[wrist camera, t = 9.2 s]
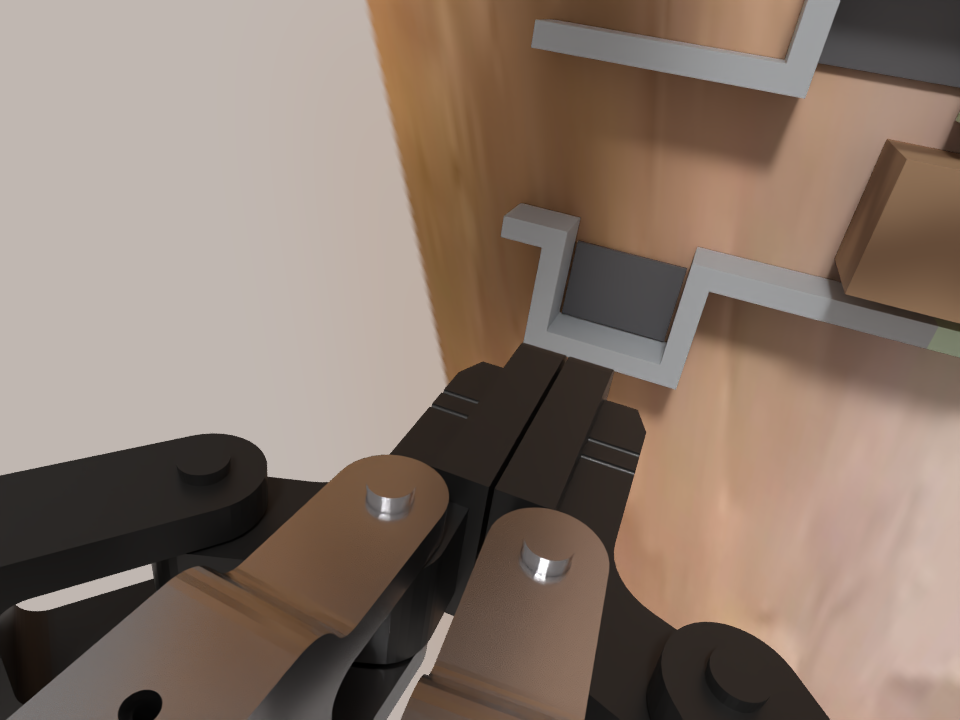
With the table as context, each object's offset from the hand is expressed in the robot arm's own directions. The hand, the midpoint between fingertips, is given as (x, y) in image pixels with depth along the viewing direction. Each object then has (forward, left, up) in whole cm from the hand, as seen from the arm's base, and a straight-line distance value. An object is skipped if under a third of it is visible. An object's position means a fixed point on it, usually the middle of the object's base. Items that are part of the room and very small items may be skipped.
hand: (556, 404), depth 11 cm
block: (0, +11, -22) cm, 24 cm away
